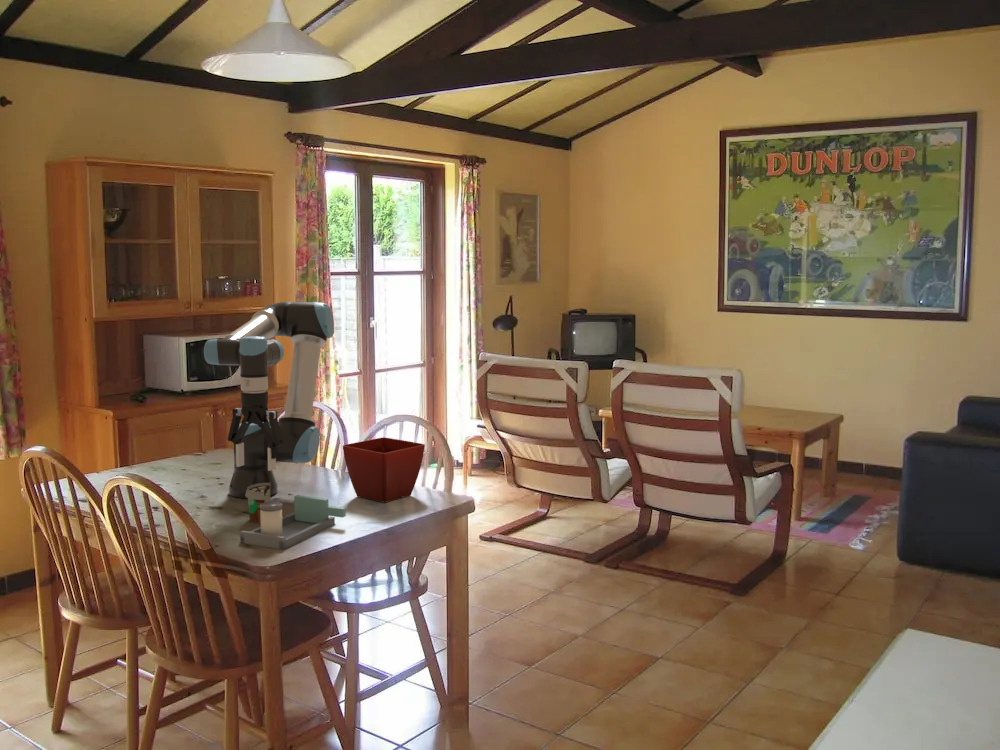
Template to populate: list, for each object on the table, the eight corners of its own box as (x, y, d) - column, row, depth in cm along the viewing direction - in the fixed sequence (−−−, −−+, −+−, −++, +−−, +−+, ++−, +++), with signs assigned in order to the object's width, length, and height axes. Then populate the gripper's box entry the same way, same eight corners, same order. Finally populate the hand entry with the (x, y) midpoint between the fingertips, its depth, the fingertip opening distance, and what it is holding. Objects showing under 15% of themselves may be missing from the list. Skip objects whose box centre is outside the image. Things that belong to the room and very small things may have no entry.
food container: (250, 515, 279) (249, 482, 277) (271, 515, 279) (270, 482, 278) (242, 527, 266) (241, 493, 265) (264, 527, 267) (263, 492, 266)
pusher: (294, 520, 270) (294, 496, 269) (299, 517, 273) (299, 494, 272) (342, 526, 264) (342, 502, 264) (347, 524, 267) (347, 500, 266)
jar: (256, 542, 250) (255, 506, 249) (269, 536, 255) (268, 500, 254) (274, 545, 248) (273, 508, 247) (287, 539, 253) (286, 503, 252)
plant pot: (383, 485, 316) (383, 436, 313) (426, 495, 304) (426, 443, 302) (341, 497, 300) (340, 445, 298) (384, 507, 289) (384, 453, 287)
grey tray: (239, 545, 250) (239, 531, 250) (293, 521, 273) (293, 508, 273) (284, 552, 245) (283, 538, 245) (335, 526, 268) (335, 513, 268)
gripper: (213, 390, 268) (215, 466, 271) (280, 395, 260) (281, 474, 263) (229, 386, 275) (231, 461, 278) (296, 392, 267) (297, 468, 270)
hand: (256, 467), depth 271 cm, fingers open, 10 cm apart
